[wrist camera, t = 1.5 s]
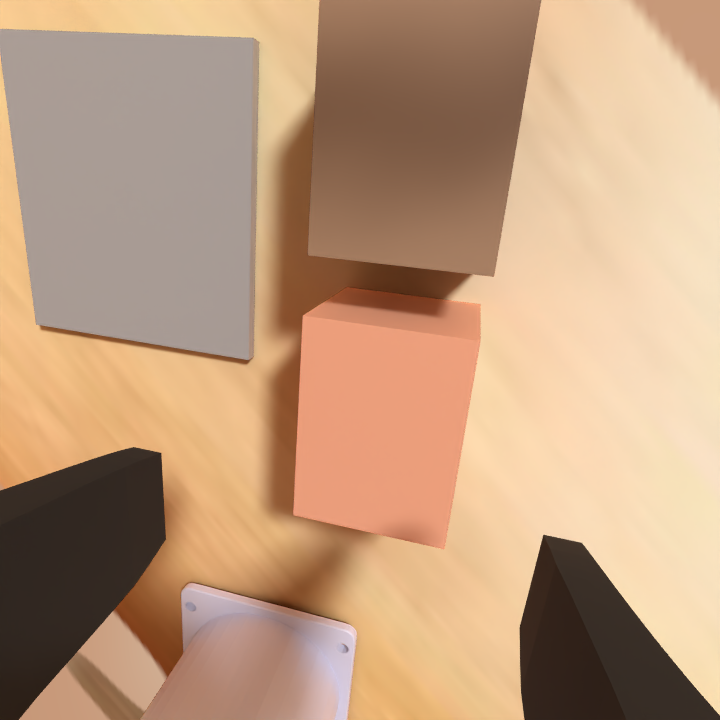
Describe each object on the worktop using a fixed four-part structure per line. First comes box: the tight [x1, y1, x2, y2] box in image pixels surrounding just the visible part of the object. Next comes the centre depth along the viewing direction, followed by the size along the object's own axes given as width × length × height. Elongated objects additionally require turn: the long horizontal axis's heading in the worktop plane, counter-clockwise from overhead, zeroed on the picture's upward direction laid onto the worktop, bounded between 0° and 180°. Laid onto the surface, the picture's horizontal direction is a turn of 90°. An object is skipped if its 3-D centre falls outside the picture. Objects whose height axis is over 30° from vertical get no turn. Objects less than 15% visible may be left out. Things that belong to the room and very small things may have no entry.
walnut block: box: [308, 0, 541, 277], centre depth 13 cm, size 6×4×4 cm
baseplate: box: [0, 29, 259, 360], centre depth 17 cm, size 10×9×1 cm
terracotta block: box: [293, 287, 480, 549], centre depth 15 cm, size 6×4×4 cm
